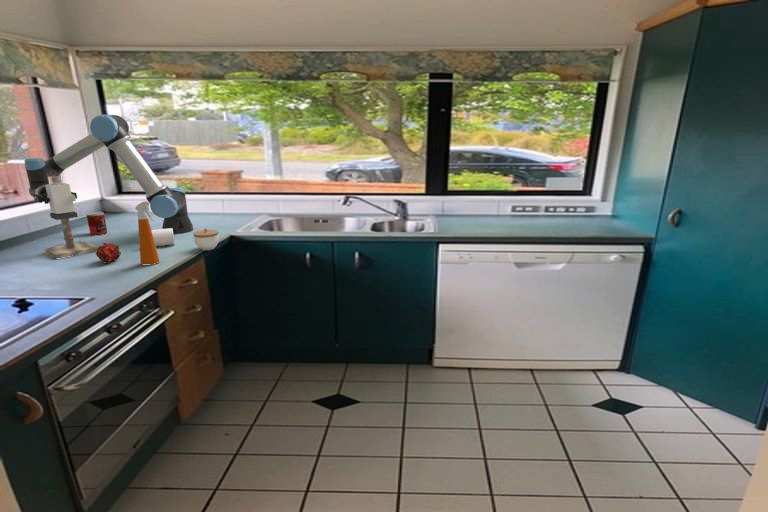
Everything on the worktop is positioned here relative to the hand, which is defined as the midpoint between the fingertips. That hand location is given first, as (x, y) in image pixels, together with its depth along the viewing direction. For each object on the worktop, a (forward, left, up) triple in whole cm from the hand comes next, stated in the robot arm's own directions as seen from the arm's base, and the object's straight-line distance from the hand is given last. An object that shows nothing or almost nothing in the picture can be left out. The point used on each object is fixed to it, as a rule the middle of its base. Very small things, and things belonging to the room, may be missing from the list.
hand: (64, 199), depth 192 cm
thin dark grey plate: (+4, -2, -8) cm, 10 cm away
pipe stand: (+4, -2, -24) cm, 25 cm away
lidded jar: (-54, -17, -25) cm, 62 cm away
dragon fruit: (-24, +8, -25) cm, 35 cm away
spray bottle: (-44, +8, -25) cm, 51 cm away
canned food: (+18, -34, -25) cm, 46 cm away
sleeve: (+4, -2, -6) cm, 8 cm away
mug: (-29, -20, -25) cm, 43 cm away
